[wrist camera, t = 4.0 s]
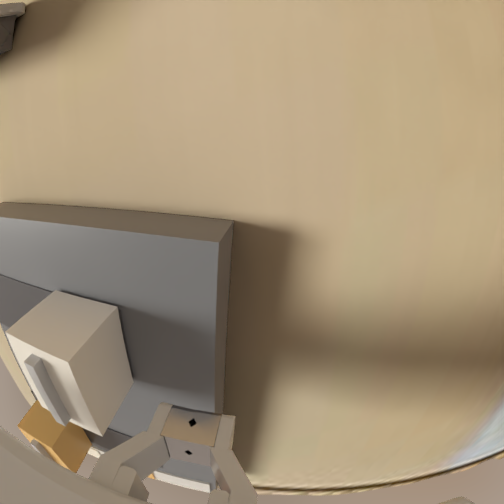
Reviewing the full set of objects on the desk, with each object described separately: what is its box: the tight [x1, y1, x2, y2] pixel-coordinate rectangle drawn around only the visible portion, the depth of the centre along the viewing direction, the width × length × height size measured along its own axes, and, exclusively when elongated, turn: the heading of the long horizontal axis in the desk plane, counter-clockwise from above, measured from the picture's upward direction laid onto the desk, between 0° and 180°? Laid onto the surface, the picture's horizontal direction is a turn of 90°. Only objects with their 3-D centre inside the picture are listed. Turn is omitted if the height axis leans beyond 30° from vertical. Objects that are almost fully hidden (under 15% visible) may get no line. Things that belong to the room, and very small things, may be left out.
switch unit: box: [0, 202, 234, 493], centre depth 17 cm, size 17×24×3 cm
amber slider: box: [18, 399, 92, 473], centre depth 16 cm, size 4×5×5 cm
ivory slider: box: [5, 290, 134, 437], centre depth 11 cm, size 4×5×5 cm
